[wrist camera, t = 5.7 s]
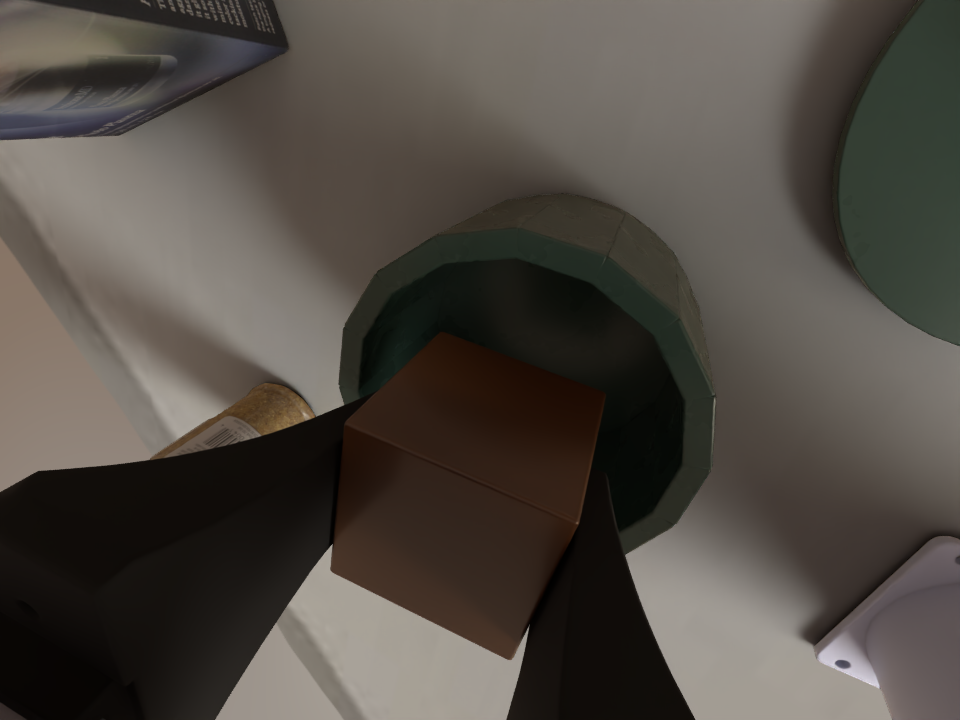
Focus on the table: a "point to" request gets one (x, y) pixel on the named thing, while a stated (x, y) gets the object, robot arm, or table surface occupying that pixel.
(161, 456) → the sprinkles bottle
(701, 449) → the green faceted bucket
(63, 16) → the small box
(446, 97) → the table surface
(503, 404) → the block
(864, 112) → the lid
